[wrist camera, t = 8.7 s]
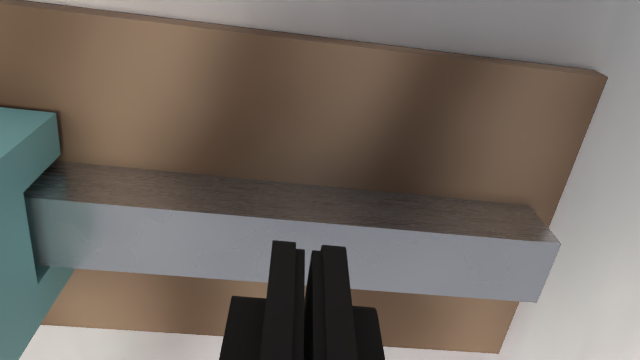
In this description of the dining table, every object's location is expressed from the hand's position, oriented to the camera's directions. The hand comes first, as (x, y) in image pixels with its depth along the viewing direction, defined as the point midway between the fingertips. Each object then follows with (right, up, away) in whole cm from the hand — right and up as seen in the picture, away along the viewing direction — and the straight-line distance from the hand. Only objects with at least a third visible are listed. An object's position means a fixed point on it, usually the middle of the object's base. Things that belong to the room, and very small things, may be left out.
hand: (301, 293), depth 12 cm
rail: (-3, +2, +7) cm, 8 cm away
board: (-3, +2, +7) cm, 8 cm away
